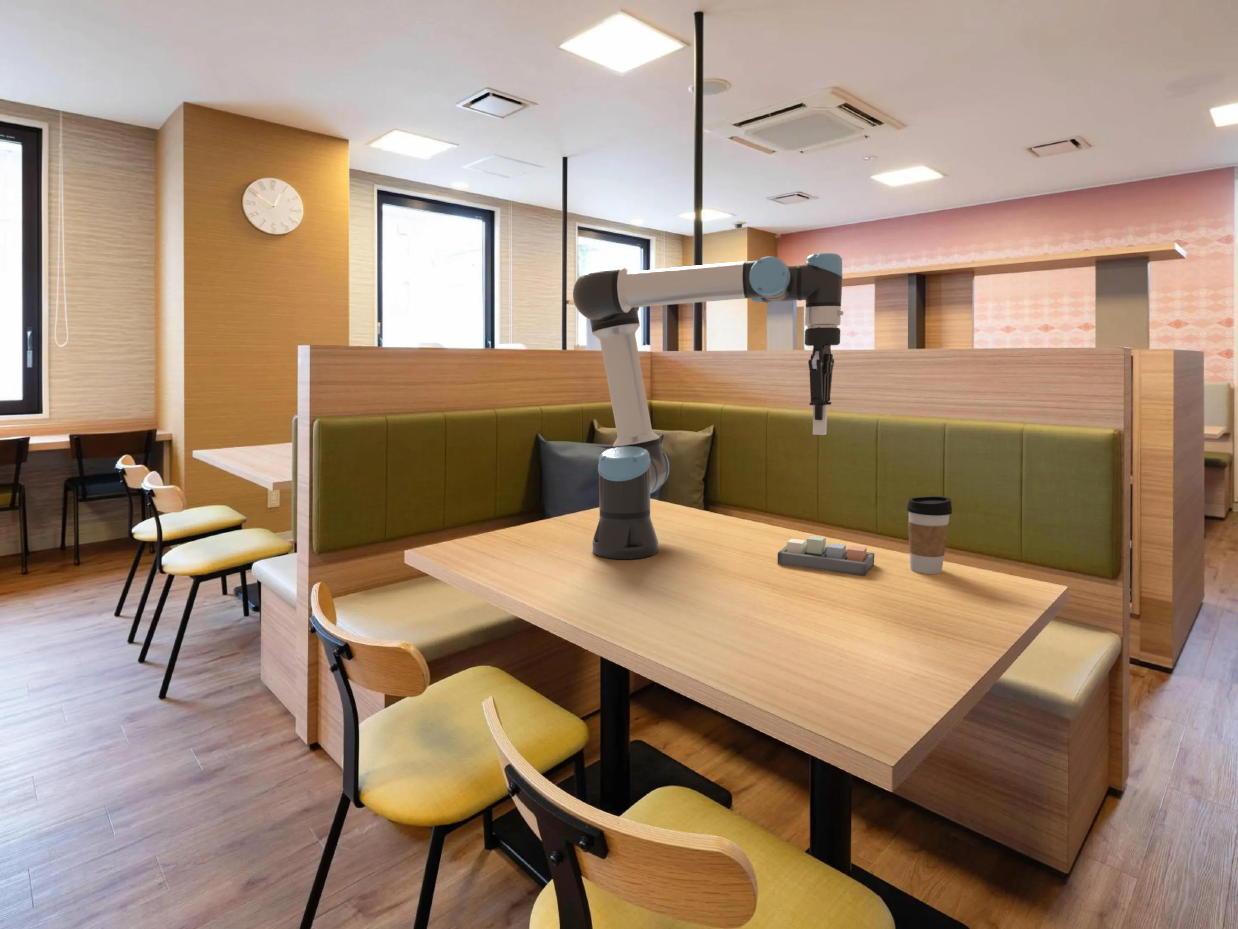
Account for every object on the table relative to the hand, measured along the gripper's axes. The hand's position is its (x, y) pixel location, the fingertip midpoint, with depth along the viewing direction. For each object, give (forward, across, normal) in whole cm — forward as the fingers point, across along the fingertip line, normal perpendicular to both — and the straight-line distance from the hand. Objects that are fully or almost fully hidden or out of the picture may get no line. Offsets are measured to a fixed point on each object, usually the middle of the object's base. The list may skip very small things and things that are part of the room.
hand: (819, 434), depth 156 cm
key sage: (+24, -12, -3) cm, 27 cm away
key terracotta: (+25, -12, -11) cm, 30 cm away
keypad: (+26, -12, -5) cm, 29 cm away
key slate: (+25, -12, -7) cm, 29 cm away
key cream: (+25, -12, +1) cm, 28 cm away
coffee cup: (+27, -6, -24) cm, 36 cm away
